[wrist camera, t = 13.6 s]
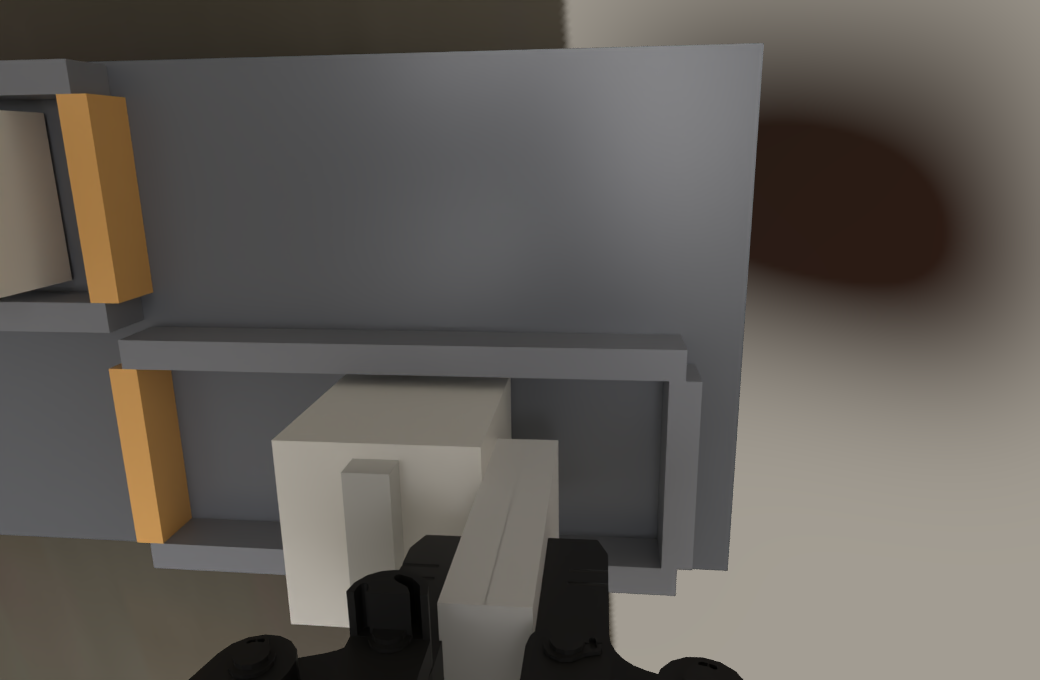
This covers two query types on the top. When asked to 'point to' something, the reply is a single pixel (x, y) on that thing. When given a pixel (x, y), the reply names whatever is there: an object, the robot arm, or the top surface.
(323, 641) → the top surface
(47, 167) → the tab
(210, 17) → the top surface
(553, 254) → the switch bank
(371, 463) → the tab
